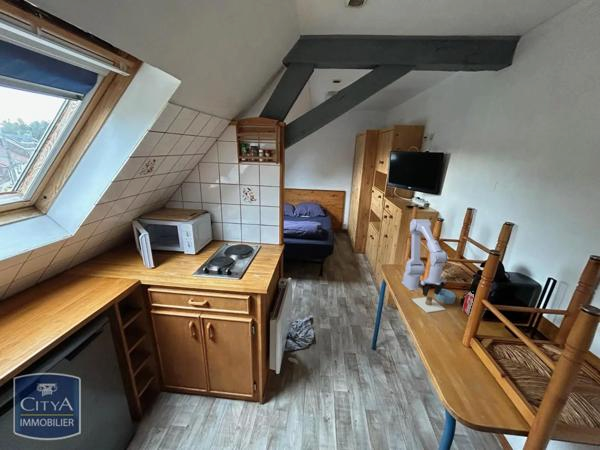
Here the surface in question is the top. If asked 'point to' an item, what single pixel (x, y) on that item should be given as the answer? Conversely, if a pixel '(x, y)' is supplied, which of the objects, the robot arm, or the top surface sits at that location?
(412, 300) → the mat
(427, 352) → the top surface
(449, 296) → the bowl
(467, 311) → the soda can
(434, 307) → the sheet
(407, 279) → the robot arm
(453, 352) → the top surface
